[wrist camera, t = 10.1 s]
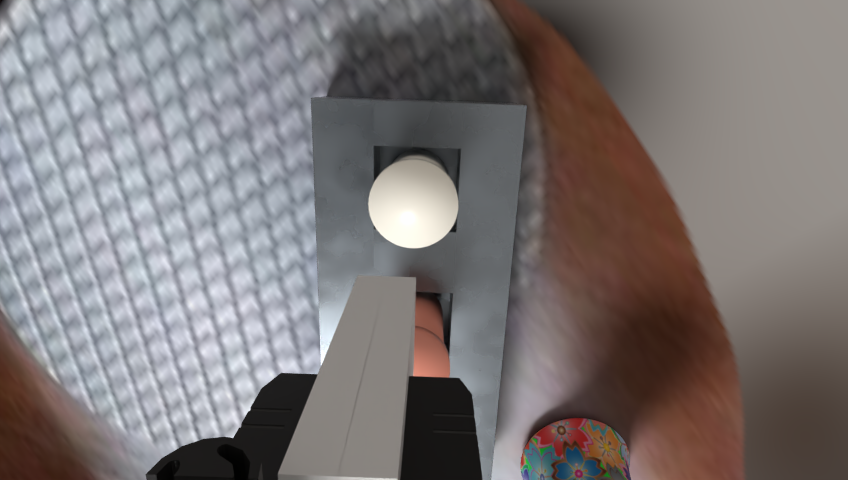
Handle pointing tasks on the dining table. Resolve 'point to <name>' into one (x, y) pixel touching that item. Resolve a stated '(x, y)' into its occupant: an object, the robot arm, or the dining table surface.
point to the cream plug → (414, 200)
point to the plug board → (442, 261)
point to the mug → (576, 452)
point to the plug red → (429, 338)
